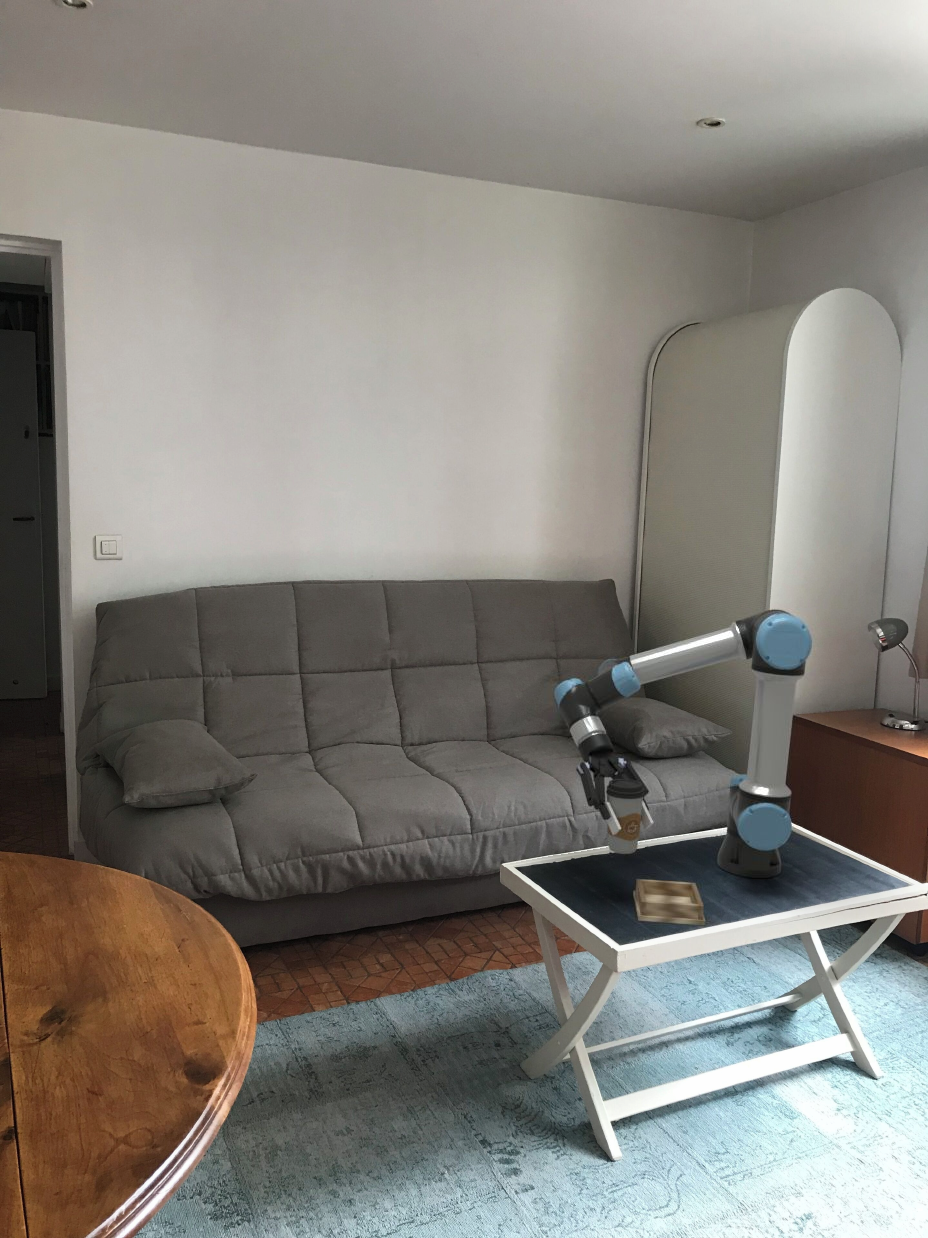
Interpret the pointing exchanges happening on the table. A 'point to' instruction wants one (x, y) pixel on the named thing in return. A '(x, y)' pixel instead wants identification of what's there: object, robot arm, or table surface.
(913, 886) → the table surface
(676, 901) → the open wooden box
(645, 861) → the table surface
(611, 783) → the coffee cup
